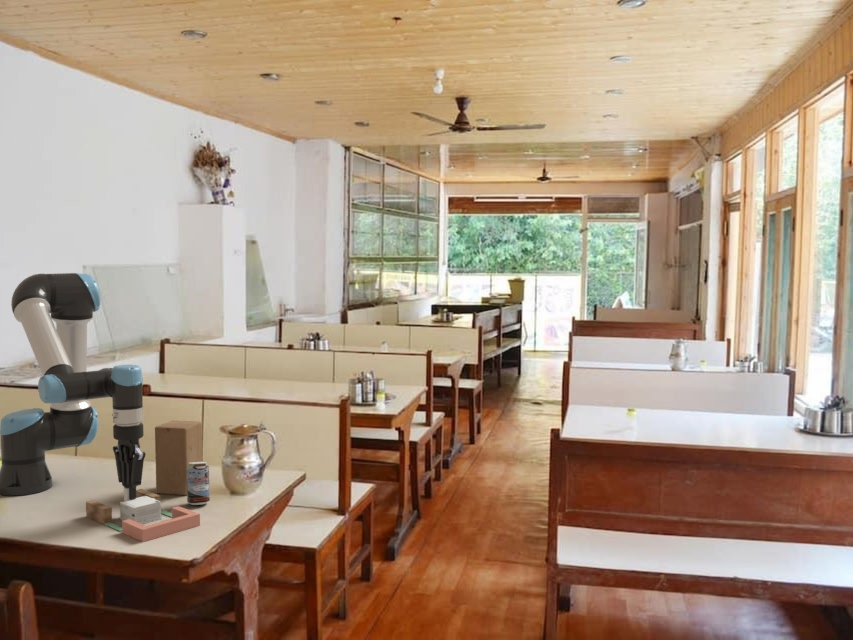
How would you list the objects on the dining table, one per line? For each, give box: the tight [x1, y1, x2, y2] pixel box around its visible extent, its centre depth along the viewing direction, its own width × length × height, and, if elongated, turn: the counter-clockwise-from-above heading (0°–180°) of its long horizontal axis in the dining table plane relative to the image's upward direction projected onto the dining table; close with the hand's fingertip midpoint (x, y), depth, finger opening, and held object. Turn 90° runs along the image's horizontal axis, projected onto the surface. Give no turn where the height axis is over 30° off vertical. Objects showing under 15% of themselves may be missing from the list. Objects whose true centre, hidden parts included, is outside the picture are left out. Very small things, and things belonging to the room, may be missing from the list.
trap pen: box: [121, 506, 201, 543], centre depth 201 cm, size 10×16×3 cm, turn 139°
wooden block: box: [154, 419, 203, 496], centre depth 235 cm, size 10×10×20 cm
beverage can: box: [186, 461, 211, 506], centre depth 222 cm, size 6×7×12 cm
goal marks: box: [105, 508, 172, 533], centre depth 208 cm, size 8×16×1 cm, turn 139°
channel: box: [85, 488, 162, 526], centre depth 214 cm, size 10×16×4 cm, turn 139°
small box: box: [119, 496, 162, 525], centre depth 209 cm, size 8×8×5 cm
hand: (130, 510), depth 211 cm, fingers closed
